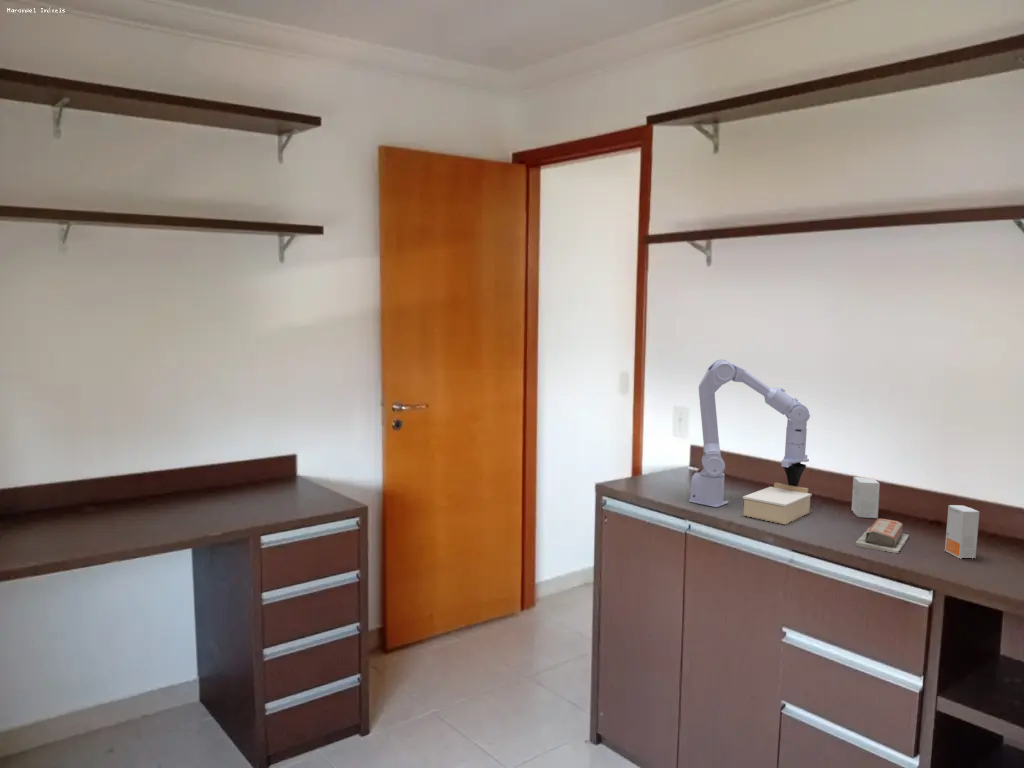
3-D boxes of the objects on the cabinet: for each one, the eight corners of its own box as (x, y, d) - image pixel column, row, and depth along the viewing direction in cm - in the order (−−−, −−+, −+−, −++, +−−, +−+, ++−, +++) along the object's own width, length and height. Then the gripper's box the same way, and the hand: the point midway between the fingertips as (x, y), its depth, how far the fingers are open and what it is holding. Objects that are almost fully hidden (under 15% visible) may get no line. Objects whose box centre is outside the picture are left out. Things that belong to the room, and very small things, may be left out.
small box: (877, 519, 222) (880, 483, 221) (857, 517, 223) (859, 482, 222) (870, 512, 230) (873, 477, 229) (850, 510, 231) (853, 476, 230)
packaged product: (869, 514, 209) (910, 521, 204) (868, 532, 210) (909, 539, 204) (856, 529, 195) (899, 536, 189) (854, 548, 195) (898, 556, 190)
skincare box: (943, 551, 192) (947, 504, 191) (959, 551, 193) (963, 504, 192) (959, 559, 186) (963, 511, 185) (976, 559, 187) (980, 511, 186)
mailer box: (743, 516, 221) (744, 499, 221) (770, 505, 235) (770, 489, 234) (784, 525, 213) (785, 507, 213) (809, 513, 227) (810, 496, 226)
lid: (742, 498, 221) (743, 492, 220) (771, 488, 235) (771, 481, 235) (785, 506, 212) (786, 500, 212) (812, 495, 227) (812, 489, 226)
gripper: (799, 447, 222) (796, 493, 223) (818, 442, 233) (815, 486, 234) (775, 444, 227) (773, 489, 228) (795, 439, 237) (792, 482, 239)
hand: (793, 487), depth 231 cm, fingers closed
